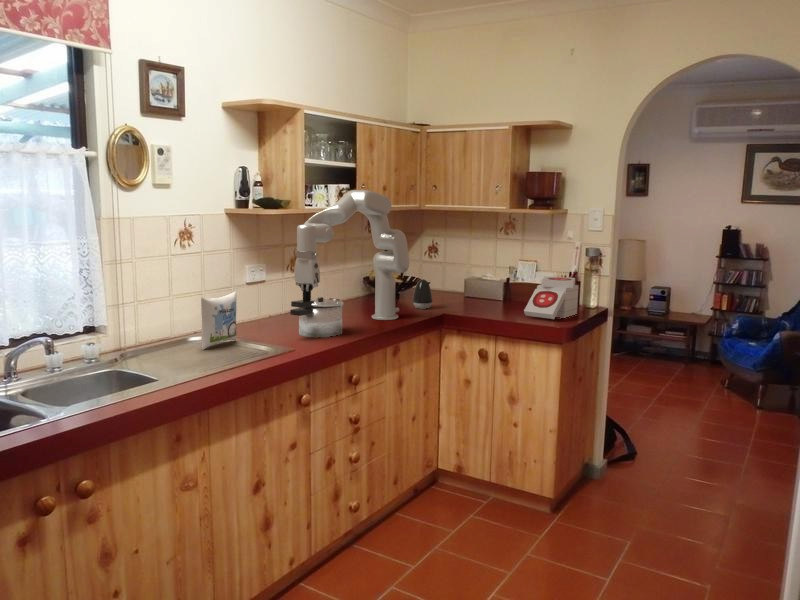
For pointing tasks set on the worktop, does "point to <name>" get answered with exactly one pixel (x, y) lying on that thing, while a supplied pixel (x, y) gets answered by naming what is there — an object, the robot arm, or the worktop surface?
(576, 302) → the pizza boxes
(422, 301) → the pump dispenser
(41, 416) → the worktop surface
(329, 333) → the cooker pot
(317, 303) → the cooker lid
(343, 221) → the robot arm
